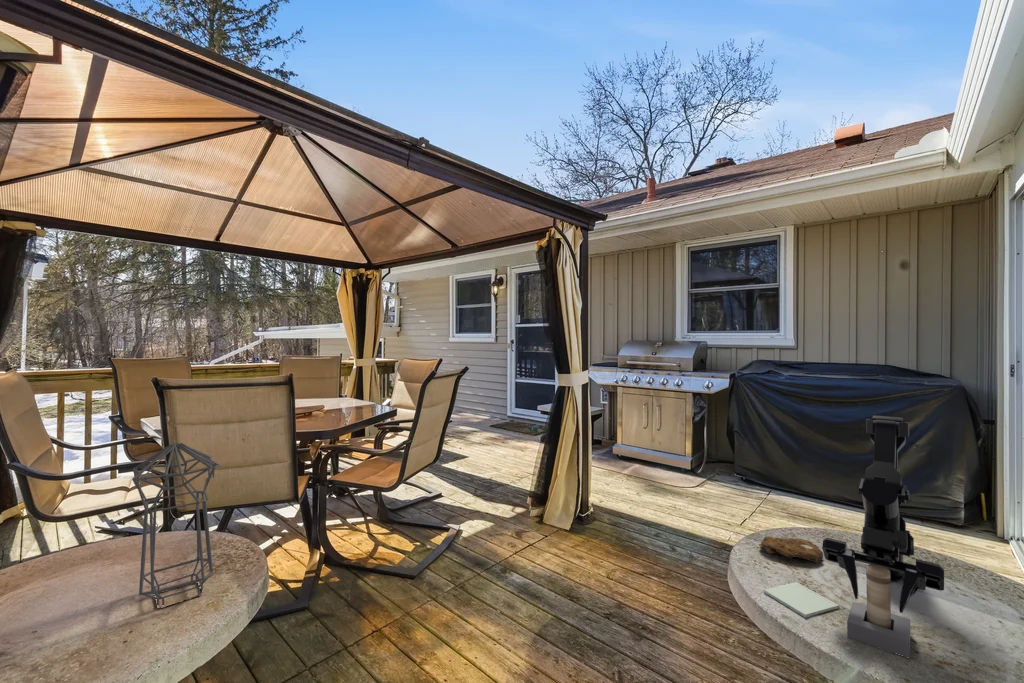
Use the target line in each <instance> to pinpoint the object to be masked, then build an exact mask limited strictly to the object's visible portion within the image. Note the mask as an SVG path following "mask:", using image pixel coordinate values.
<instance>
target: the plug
mask: <svg viewBox="0 0 1024 683" xmlns="http://www.w3.org/2000/svg"><path fill="white" fill-rule="evenodd" d="M865 570H866V571H865V576H866V606H867V622H869V623H872V624H875V625H878V626H881V627H884V628H887V629H890V630H891V614H892V606H891V595H892V594H891V582H892V581H891V577H890V571H889V570H888V569H887V568H884V567H882V566H878V565H872V564H866V567H865Z"/></svg>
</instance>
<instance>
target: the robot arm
mask: <svg viewBox="0 0 1024 683" xmlns="http://www.w3.org/2000/svg"><path fill="white" fill-rule="evenodd" d="M865 419H866V420H865V423H866V424H865V426H866V428H865V429H866V430H865V433H866V434H869V438H870V441H871V442H872V444H873V452H872V454H873V455H872V456H873V458H872V464H871V465H870V466H868V467H867V468H866V469H865V473H864V478H861V479H860V482H859V486H858V494H859V496H861V497H862V503H863V509H864V510H865V511H864V524H863V526H862V534H861V539H860V548H861V550H862V551H858V550H854V549H853V548H850V547H848V545H847V542H846V541H843V540H838V539H835V538H830V537H826V538H824V539H823V540H822V544H821V547H822V553H823V557H824V559H825V560H826V561H828V562H832V563H836V564H838V567H839V568H841V569H844V570H845V572H846V575H847V576H848V579H849V581H850V585H851V589H852V593H853V595H854V596H853V597H854V598H855V600H858V599H859V586H858V585H859V584H858V572H857V566H856V562H859V563H863V564H866V565H870V564H872V565H878V566H882V567H884V568H887V569H888V570H889V571H890V577H891V582H899V581H903V582H902V587H901V591H900V592H901V593H900V597H899V607H898V608H899V613H901V614H903V613H904V611H905V609H906V608H907V606H908V604H909V602H910V601H911V599H912V598H913V596H914V595H915V594H916V593H917V591H918V590H921V591H926V588H929V589H932V590H937V591H939V592H940V591H945V568H944V567H943V566H942V565H941V564H939V563H936V562H932V561H927V560H923V559H920V558H919V559H918V558H915V564H913V563H912V564H911V563H908V562H905V561H904V556H906V557H909V558H911V556H915V544H914V543H915V542H914V541H915V540H914V539H915V538H914V537H913V536H912V534H911V532H910V531H911V530H907V524H906V523H907V522H905V520H904V518H903V517H902V515H901V513H900V509H899V508H900V507H899V506H901V505H902V503H903V504H906V503H907V502H908V501H910V491H909V489H908V487H907V486H906V485H904V484H902V483H903V482H902V474H901V473H900V472H899V470H898V469H899V468H898V467H899V466H898V465H899V464H898V462H899V461H898V460H899V458H898V455H899V452H900V451H901V449H903V447H904V446H906V444H907V443H906V440H907V439H906V438H909V437H910V422H906V421H905V420H903V419H904V418H903V417H897V416H885V415H872V417H871V418H865ZM906 501H907V502H906Z"/></svg>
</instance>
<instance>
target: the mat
mask: <svg viewBox="0 0 1024 683" xmlns="http://www.w3.org/2000/svg"><path fill="white" fill-rule="evenodd" d="M763 593H764V594H765V595H768V596H769V597H770V598H773V599H774V600H776V601H777V602H779V603H781V604H782V605H784V606H786V607H787V608H788V609H791V610H792V611H794V612H795V613H797V614H798V615H801V616H802V617H803V618H809V617H812V616H816V615H820V614H824V613H826V612H830V611H834V610H837V609H840V604H838V603H835V602H833V601H832V600H830V599H828V598H826V597H825V596H823V595H820V594H819V593H817V592H816V591H813V590H811V589H809V588H808V587H807V586H804V585H802V584H800V583H798V582H796V581H795V582H791V583H786V584H782V585H777V586H774V587H769V588H765V589H763Z"/></svg>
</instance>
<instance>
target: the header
mask: <svg viewBox="0 0 1024 683" xmlns="http://www.w3.org/2000/svg"><path fill="white" fill-rule="evenodd" d="M846 622H847V623H846V624H847V626H846V632H847V634H846V635H847V636H846V637H848V638H850V639H852V640H856V641H858V642H861V643H864V642H865V643H864V644H867V645H869V644H870V646H872V647H874V648H878V649H881V650H884V651H886V652H890V653H892V652H893V654H895V653H897V654H900V655H903V656H905V657H904V658H906V657H909V658H910V656H909V654H910V652H911V619H910V618H908V617H904V616H900V615H898V614H894V613H891V630H890V629H887V628H884V627H881V626H878V625H875V624H872V623H869V622H867V605H866V604H862V603H860V602H856V601H852V603H851V606H850V609H849V613H848V617H847V621H846ZM897 654H896V655H897ZM900 655H899V656H900ZM903 656H902V657H903Z"/></svg>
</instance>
